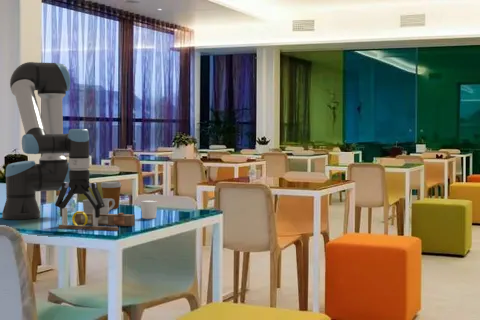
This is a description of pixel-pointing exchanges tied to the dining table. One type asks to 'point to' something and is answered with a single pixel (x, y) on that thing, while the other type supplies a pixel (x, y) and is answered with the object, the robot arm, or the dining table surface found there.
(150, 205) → the white tapered cup
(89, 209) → the teacup
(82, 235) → the dining table surface
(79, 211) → the yellow ring
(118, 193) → the disposable coffee cup
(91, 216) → the wooden tray
